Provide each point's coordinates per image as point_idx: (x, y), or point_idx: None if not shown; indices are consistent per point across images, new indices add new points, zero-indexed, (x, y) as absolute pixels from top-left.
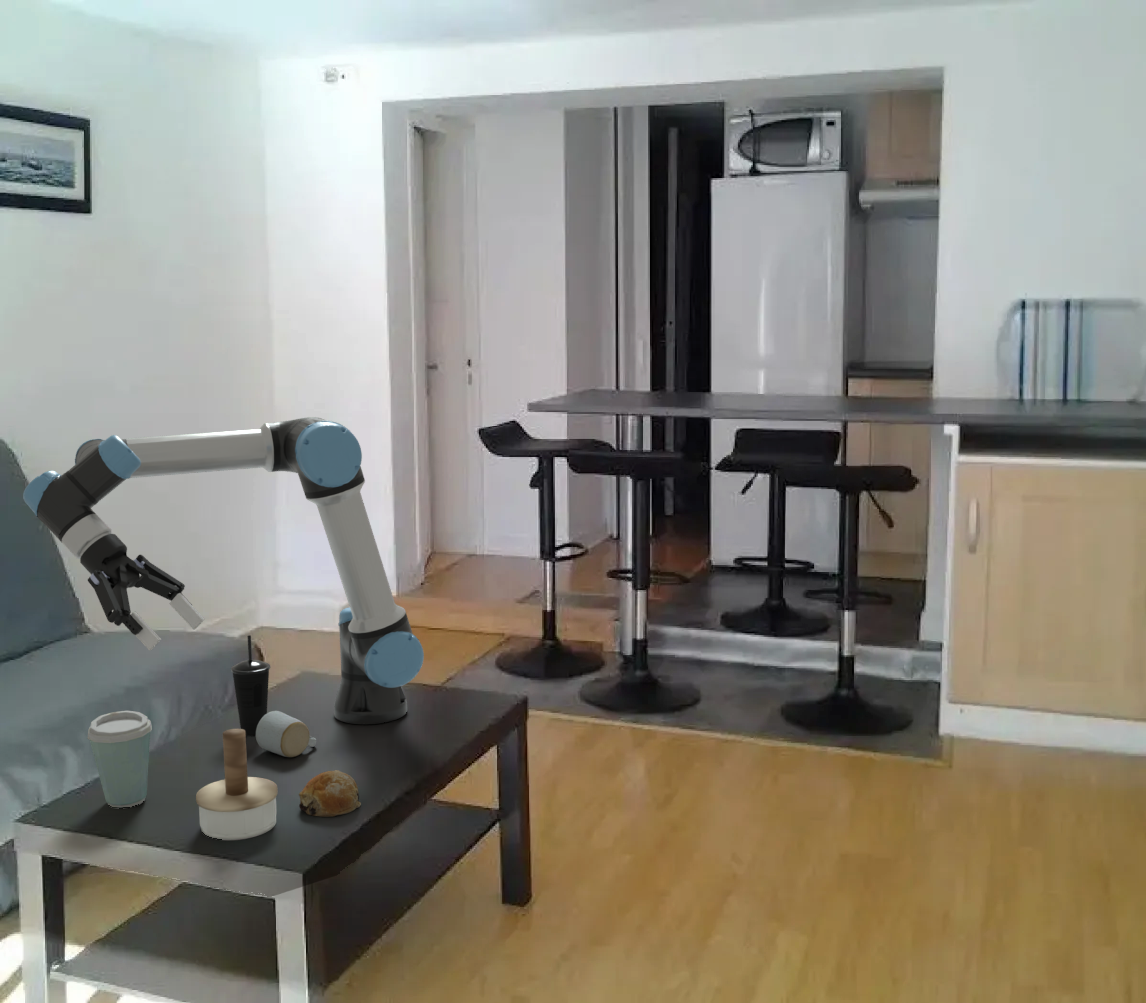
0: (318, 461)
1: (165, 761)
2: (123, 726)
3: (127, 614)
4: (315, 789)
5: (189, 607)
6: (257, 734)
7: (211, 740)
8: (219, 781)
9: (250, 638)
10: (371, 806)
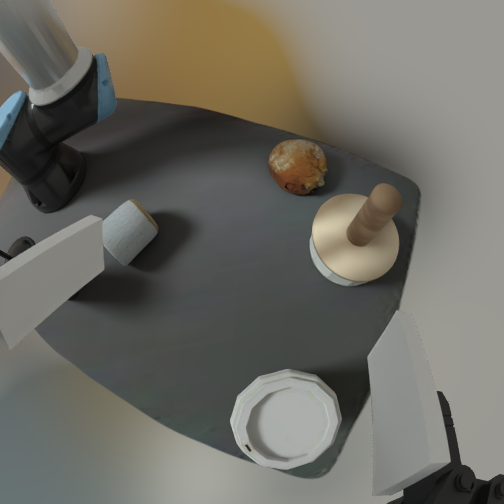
0: None
1: (142, 378)
2: (296, 415)
3: (462, 470)
4: (318, 167)
5: (50, 253)
6: (124, 260)
7: (84, 332)
8: (329, 262)
9: None
10: None
